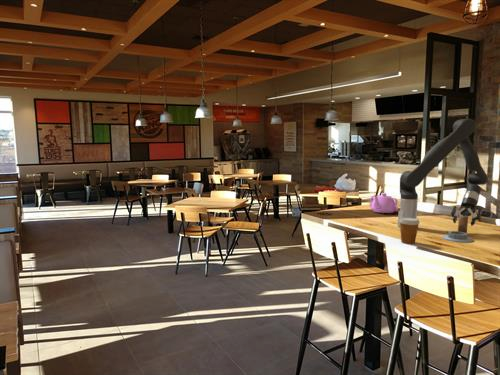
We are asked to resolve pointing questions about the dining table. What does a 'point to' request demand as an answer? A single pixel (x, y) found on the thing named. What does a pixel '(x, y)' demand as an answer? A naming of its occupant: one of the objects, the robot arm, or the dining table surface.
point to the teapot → (383, 204)
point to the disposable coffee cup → (408, 229)
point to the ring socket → (457, 237)
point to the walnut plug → (463, 224)
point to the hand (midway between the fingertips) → (462, 223)
